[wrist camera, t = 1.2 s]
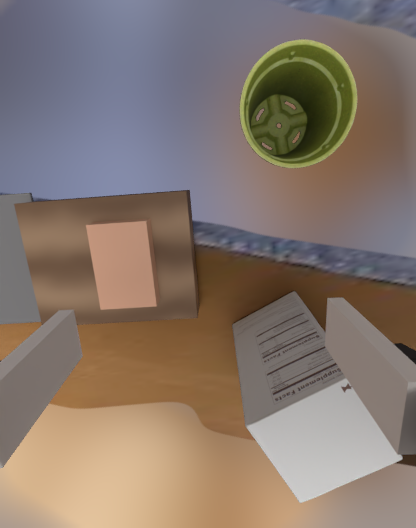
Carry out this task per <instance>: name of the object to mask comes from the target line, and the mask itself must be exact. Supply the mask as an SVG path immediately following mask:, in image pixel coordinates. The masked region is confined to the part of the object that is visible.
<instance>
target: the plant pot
mask: <svg viewBox="0 0 416 528" xmlns="http://www.w3.org/2000/svg"><path fill="white" fill-rule="evenodd" d="M286 101H288V102H289V103H291V104H293V105H295V107H296V109H295V110H293V109H292V108H291V107H289V106H288V105H286V104H285V102H286ZM263 108H264V111H263V113H262V114H261V116H260V118H259V120H258V121H256V116H257V114H258V113H259V111H260V110H261V109H263ZM356 108H357V89H356V83H355V80H354V77H353V75H352V72H351V70H350V68H349V66H348V65H347V63H346V62H345V60H344V59H343V58H342V57H341V55H339V54H338V53H337V52H336V51H335V50H333V49H332V48H330V47H329V46H327V45H325V44H323V43H319V42H316V41H312V40H294V41H290V42H286V43H283V44H281V45H278V46H276V47H274V48H273V49H271V50H270V51H268V52H267V53H266V54H264V55H263V56H262V57H261V58H260V59H259V60H258V62H257V63H256V64H255V65H254V67H253V68H252V70H251V71H250V73H249V75H248V77H247V79H246V81H245V84H244V86H243V90H242V94H241V99H240V121H241V126H242V130H243V133H244V136H245V138H246V140H247V142H248V143H249V145H250V146H251V148H252V149H253V150H254V151H255V152H256V153H257V154H258V155H259V156H260V157H261V158H262V159H264V160H266V161H267V162H269V163H271V164H273V165H276V166H280V167H284V168H302V167H307V166H311V165H314V164H316V163H318V162H320V161H322V160H324V159H326V158H327V157H328V156H329V155H331V154H332V153H333V152H334V151H335V150H336V149H337V148H338V147H339V146H340V145H341V144H342V142H343V141H344V140H345V138H346V136H347V135H348V133H349V131H350V129H351V127H352V124H353V121H354V118H355V113H356ZM278 123H280V124H281V128H277V126H276V125H277V124H278ZM299 131H300V136H299V138H298V140H297V141H296V142H295V143H292V141H293V140H294V138H295V137H296V135H297V134H298V132H299ZM262 142H263V143H265V144H266V145H268V146H269V147H271V148H273V149H272V150H268V149H266V148H265V147H263V146H262Z"/></svg>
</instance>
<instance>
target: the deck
mask: <svg viewBox="0 0 416 528" xmlns="http://www.w3.org/2000/svg"><path fill="white" fill-rule="evenodd" d="M14 206H15V211H16V215H17V219H18V224H19V228H20V232H21V237H22V241H23V245H24V250H25V254H26V258H27V263H28V267H29V271H30V275H31V280H32V284H33V288H34V293H35V297H36V301H37V306H38V310H39V314H40V319H41V323H42V325H43V324H44V323H45V322H46V321H48V320H49V319H50V318H51V317H52V316H53V315H54V314H56V313H57V312H58V311H59V310H74V313H75V319H76V324H77V325H83V324H100V323H118V322H136V321H153V320H171V319H188V318H198V311H199V294H198V282H197V271H196V259H195V247H194V236H193V224H192V213H191V201H190V191H189V190H183V191H170V192H157V193H143V194H130V195H116V196H103V197H89V198H76V199H63V200H49V201H35V202H26V203H17V204H14ZM137 219H150V220H151V229H152V237H153V245H154V254H155V262H156V270H157V278H158V287H159V295H160V301H159V303H158V305H157V306H156V307H139V308H122V309H105V310H101V309H100V303H99V297H98V292H97V286H96V280H95V275H94V269H93V263H92V258H91V252H90V246H89V240H88V235H87V229H86V225H88V224H91V223H94V222H108V221H123V220H137Z"/></svg>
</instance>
